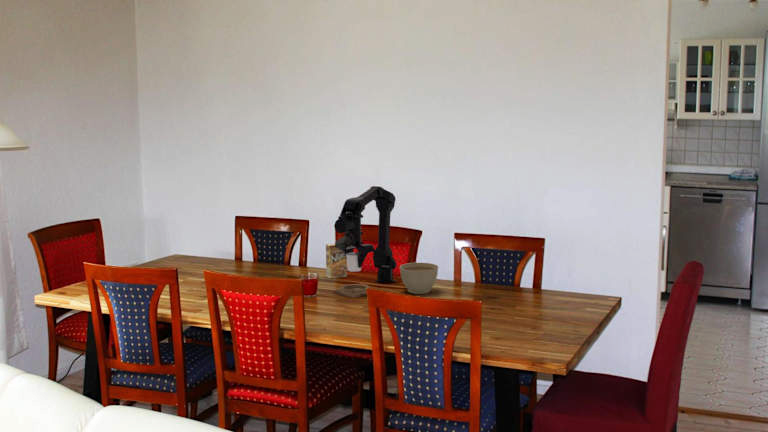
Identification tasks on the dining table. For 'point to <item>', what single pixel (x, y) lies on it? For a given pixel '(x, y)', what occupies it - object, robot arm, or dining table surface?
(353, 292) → the saucer
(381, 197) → the robot arm
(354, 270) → the white cup
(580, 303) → the dining table surface
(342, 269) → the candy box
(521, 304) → the dining table surface
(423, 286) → the planter bowl
